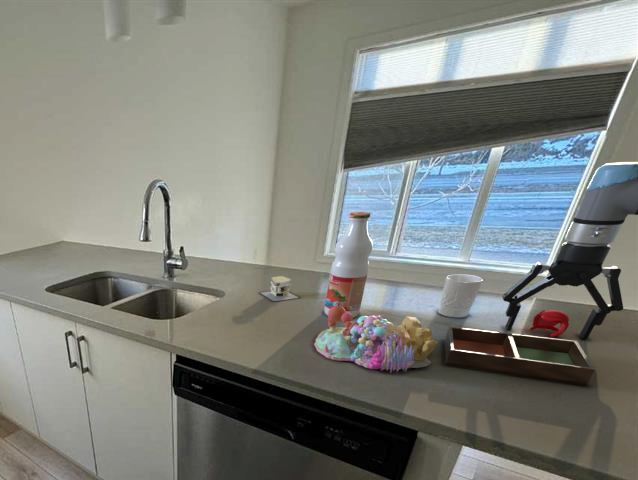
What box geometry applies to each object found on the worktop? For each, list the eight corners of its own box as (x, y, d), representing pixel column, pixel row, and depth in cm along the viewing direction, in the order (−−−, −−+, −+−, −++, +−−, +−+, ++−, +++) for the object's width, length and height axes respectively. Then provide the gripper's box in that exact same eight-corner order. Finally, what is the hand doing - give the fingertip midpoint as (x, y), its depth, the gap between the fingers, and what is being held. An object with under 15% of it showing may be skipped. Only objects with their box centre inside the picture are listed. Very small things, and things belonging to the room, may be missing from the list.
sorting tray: (568, 356, 88) (577, 340, 87) (585, 386, 78) (595, 369, 77) (444, 340, 100) (449, 326, 98) (445, 365, 90) (450, 349, 88)
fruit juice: (362, 319, 115) (386, 214, 101) (327, 319, 117) (345, 216, 103) (353, 307, 123) (374, 209, 109) (320, 308, 125) (336, 211, 111)
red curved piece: (528, 325, 103) (538, 303, 100) (560, 330, 99) (572, 306, 96) (528, 336, 98) (538, 313, 95) (562, 341, 94) (574, 317, 91)
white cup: (466, 309, 115) (478, 274, 110) (473, 319, 109) (486, 283, 104) (433, 307, 118) (443, 273, 113) (438, 317, 112) (449, 281, 107)
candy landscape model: (414, 332, 105) (424, 298, 100) (448, 376, 85) (462, 336, 81) (310, 329, 112) (315, 297, 107) (320, 369, 93) (326, 332, 88)
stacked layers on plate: (259, 292, 142) (261, 277, 139) (283, 289, 143) (285, 274, 140) (273, 301, 133) (275, 285, 131) (298, 297, 134) (301, 281, 132)
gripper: (514, 244, 91) (480, 330, 102) (681, 249, 79) (623, 347, 90) (510, 237, 97) (478, 320, 107) (666, 241, 84) (612, 334, 95)
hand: (544, 332), depth 99 cm, fingers open, 13 cm apart
